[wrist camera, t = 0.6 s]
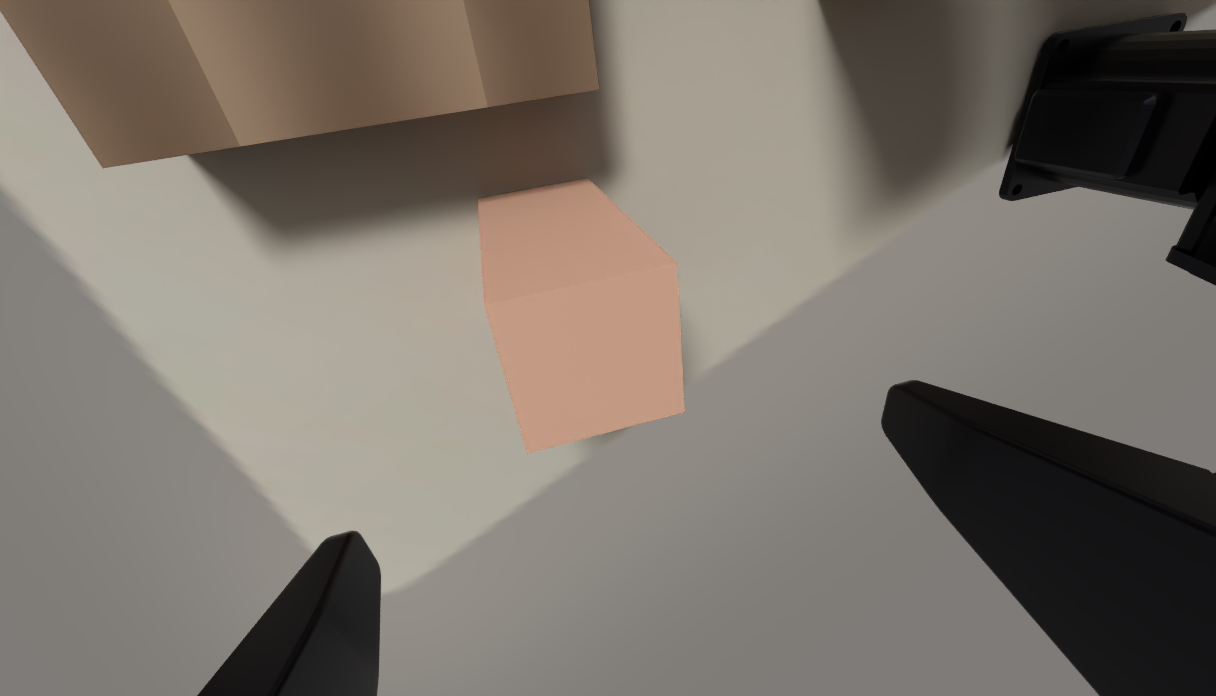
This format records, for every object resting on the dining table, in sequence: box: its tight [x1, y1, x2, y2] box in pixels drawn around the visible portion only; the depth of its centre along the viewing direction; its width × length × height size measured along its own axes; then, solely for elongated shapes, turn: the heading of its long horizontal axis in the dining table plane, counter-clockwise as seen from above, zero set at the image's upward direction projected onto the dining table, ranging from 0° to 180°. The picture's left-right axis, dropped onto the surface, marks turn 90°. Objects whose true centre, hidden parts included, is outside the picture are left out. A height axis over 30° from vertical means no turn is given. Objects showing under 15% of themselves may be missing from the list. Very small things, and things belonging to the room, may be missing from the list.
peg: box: [478, 178, 685, 454], centre depth 15 cm, size 4×4×9 cm
